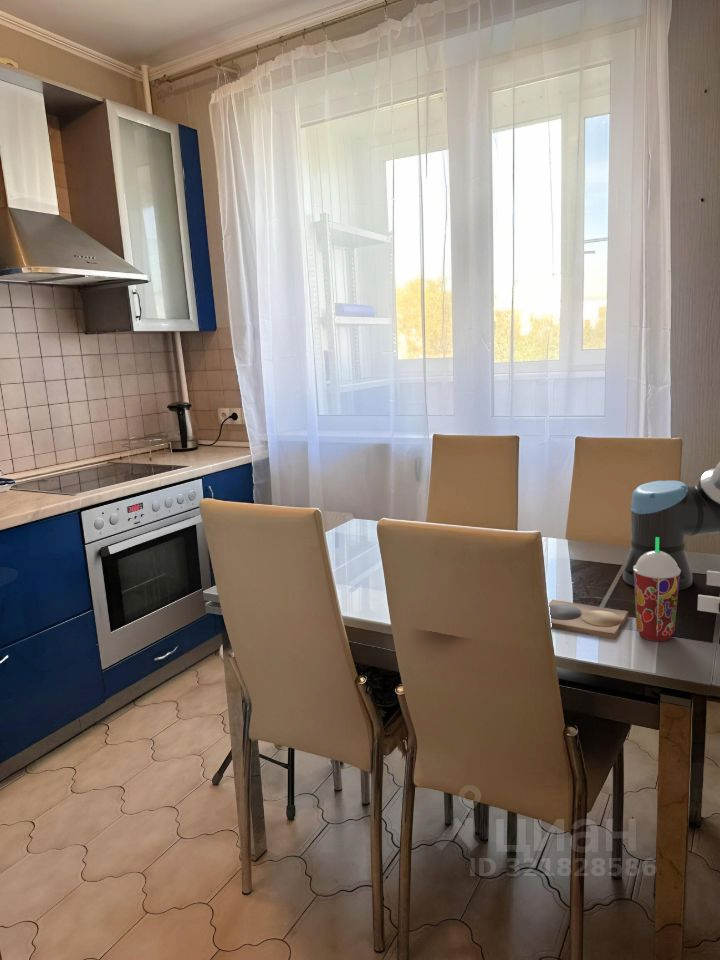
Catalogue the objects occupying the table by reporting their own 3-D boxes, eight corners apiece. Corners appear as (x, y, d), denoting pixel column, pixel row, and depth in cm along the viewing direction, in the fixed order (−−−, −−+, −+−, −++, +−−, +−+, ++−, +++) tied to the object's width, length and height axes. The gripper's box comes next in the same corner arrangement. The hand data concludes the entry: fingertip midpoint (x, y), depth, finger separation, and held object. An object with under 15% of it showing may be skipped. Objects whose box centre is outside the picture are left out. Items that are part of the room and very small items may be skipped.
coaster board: (552, 604, 149) (552, 598, 149) (627, 616, 140) (628, 610, 140) (534, 625, 139) (534, 618, 139) (614, 639, 130) (614, 632, 130)
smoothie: (684, 645, 126) (687, 543, 122) (637, 644, 128) (639, 544, 124) (671, 626, 134) (674, 531, 130) (627, 626, 136) (629, 531, 132)
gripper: (845, 659, 103) (692, 634, 115) (838, 602, 123) (709, 586, 135) (849, 613, 102) (694, 593, 113) (841, 563, 122) (710, 550, 133)
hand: (702, 589), depth 124 cm, fingers open, 13 cm apart
